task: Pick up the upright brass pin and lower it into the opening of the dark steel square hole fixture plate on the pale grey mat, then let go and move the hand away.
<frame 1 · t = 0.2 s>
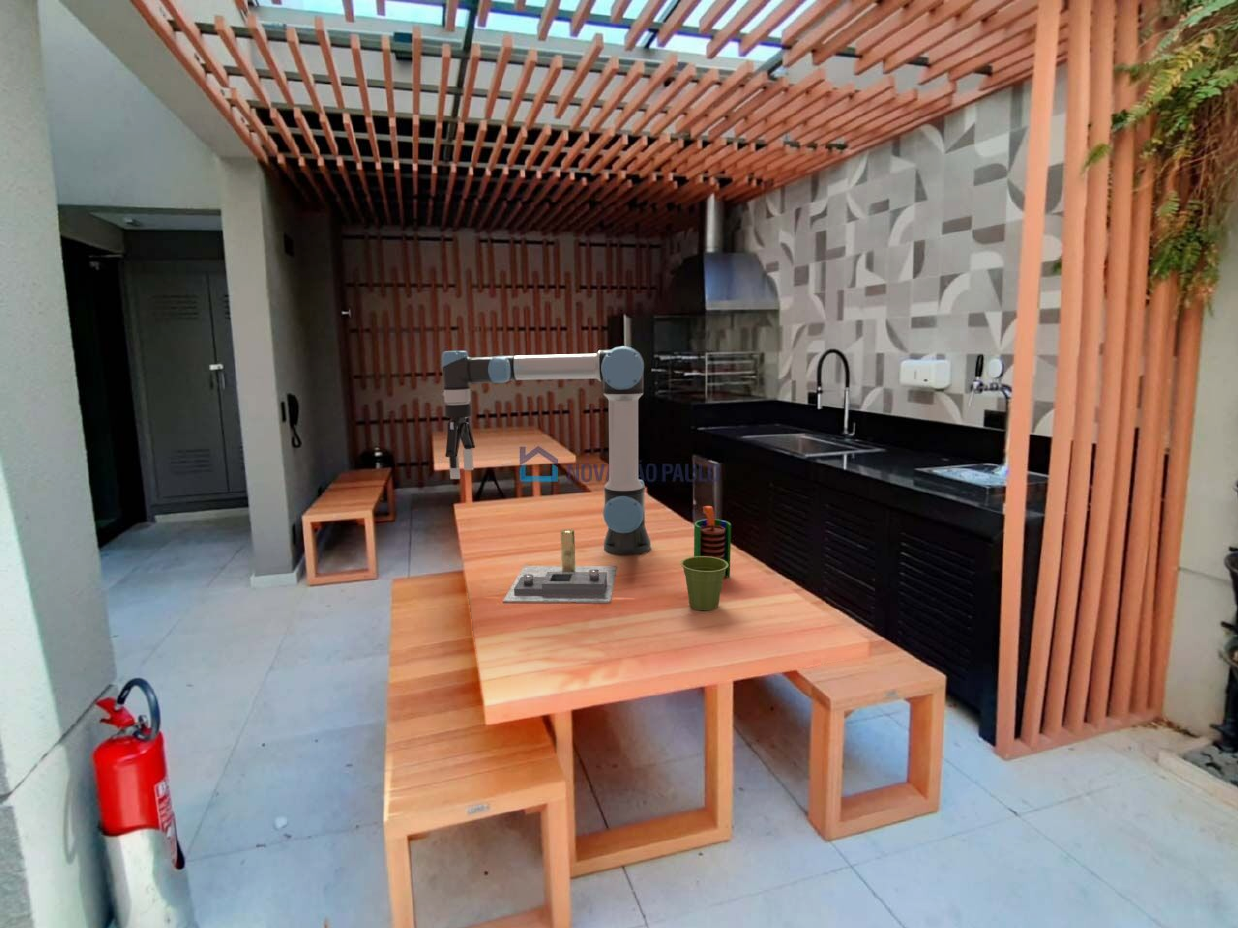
hand: (462, 474, 199), 28 cm above the table, tool pointing down, fingers open, 13 cm apart
square hole fixture plate: (561, 589, 179), on the table
plant pot: (704, 606, 167), on the table
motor: (710, 577, 187), on the table
brass pin: (568, 570, 193), resting on square hole fixture plate
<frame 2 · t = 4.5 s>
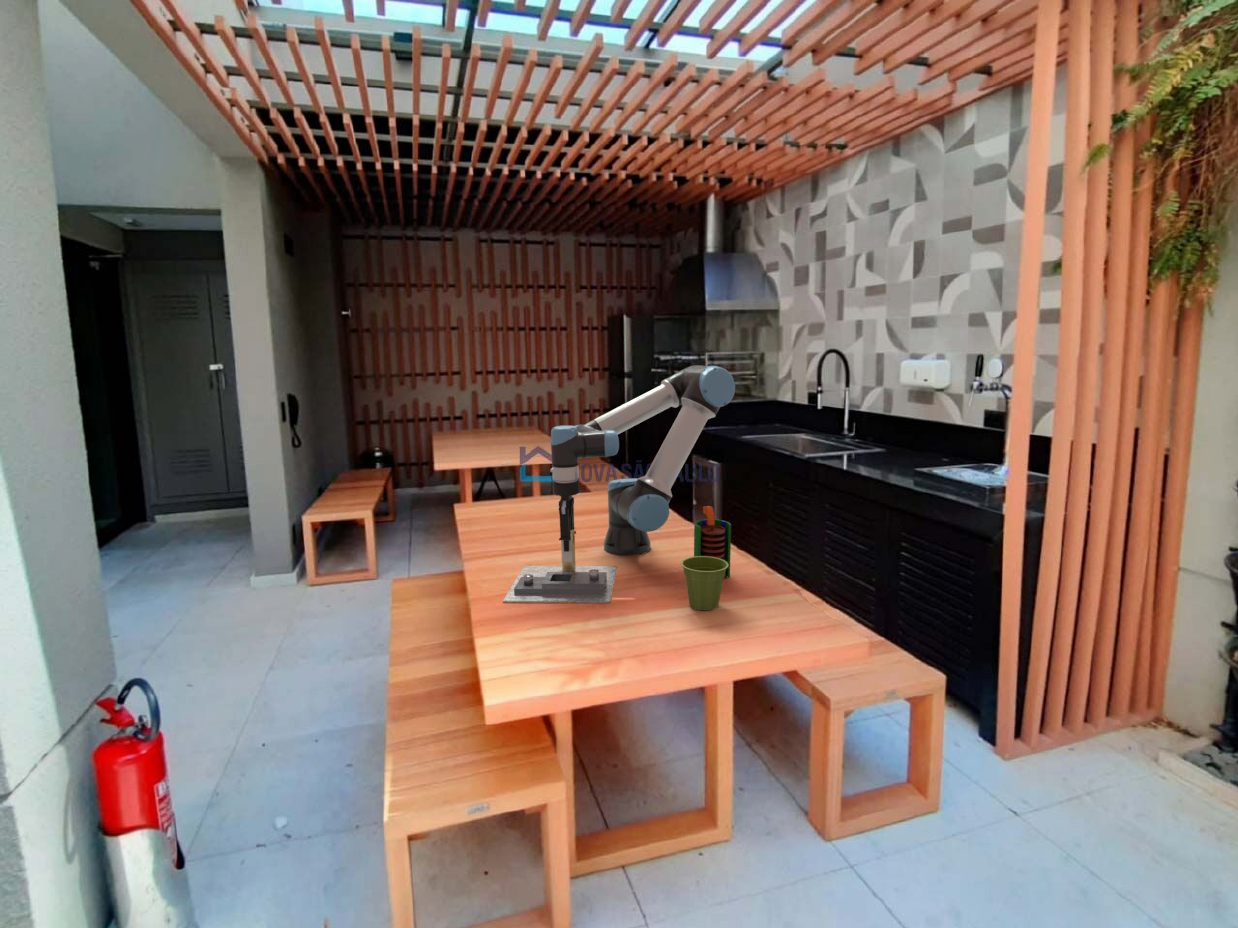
hand: (568, 558, 192), 4 cm above the table, tool pointing down, fingers closed on brass pin, 4 cm apart
brass pin: (568, 570, 193), point 1 cm above the table, touching gripper
everything else where it was.
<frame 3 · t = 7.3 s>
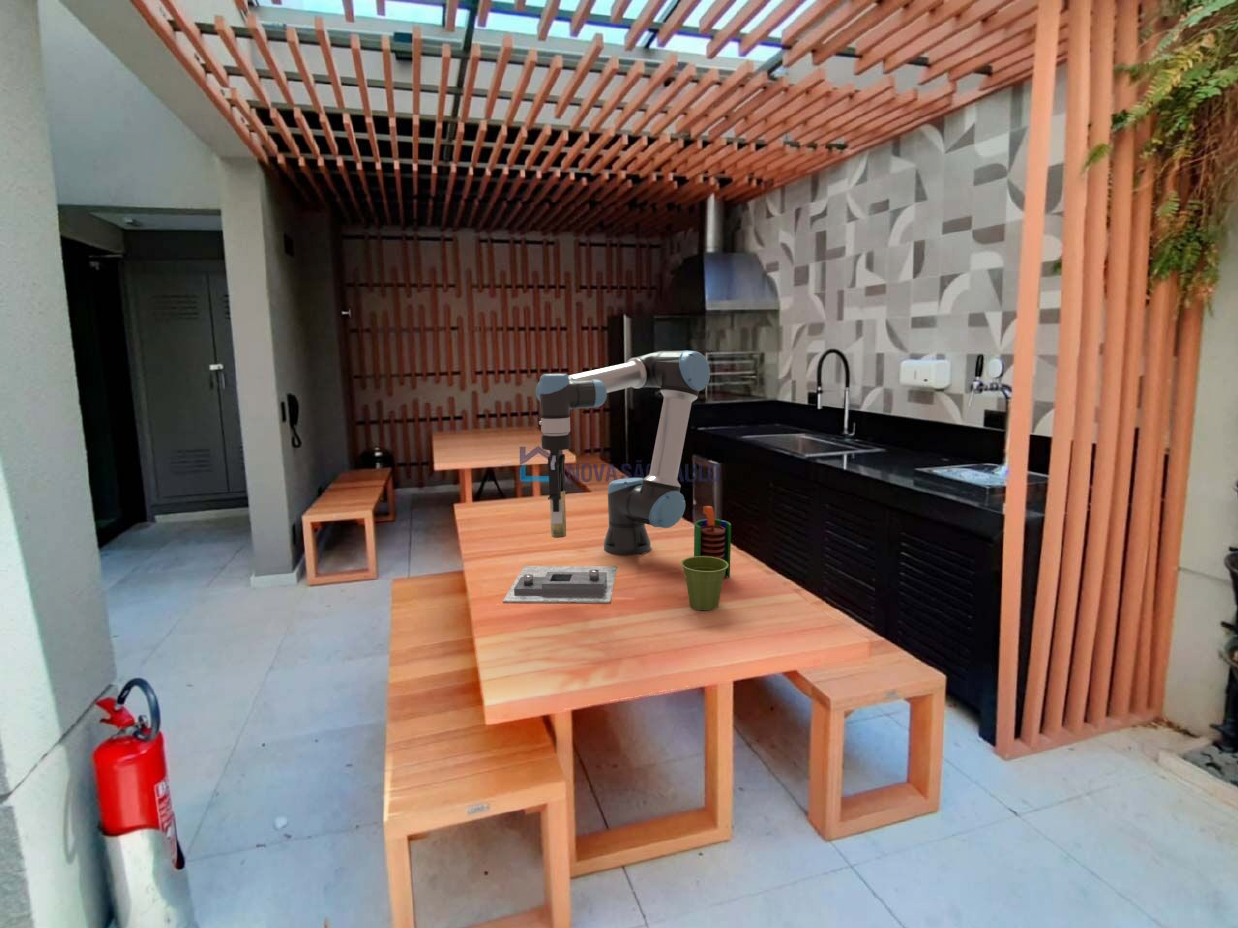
hand: (558, 520, 176), 20 cm above the table, tool pointing down, fingers closed on brass pin, 4 cm apart
brass pin: (558, 535, 176), point 15 cm above the table, touching gripper
everything else where it was.
when the fingers open (5 cm above the table, at t = 10.4 s): brass pin stays where it is, resting on square hole fixture plate.
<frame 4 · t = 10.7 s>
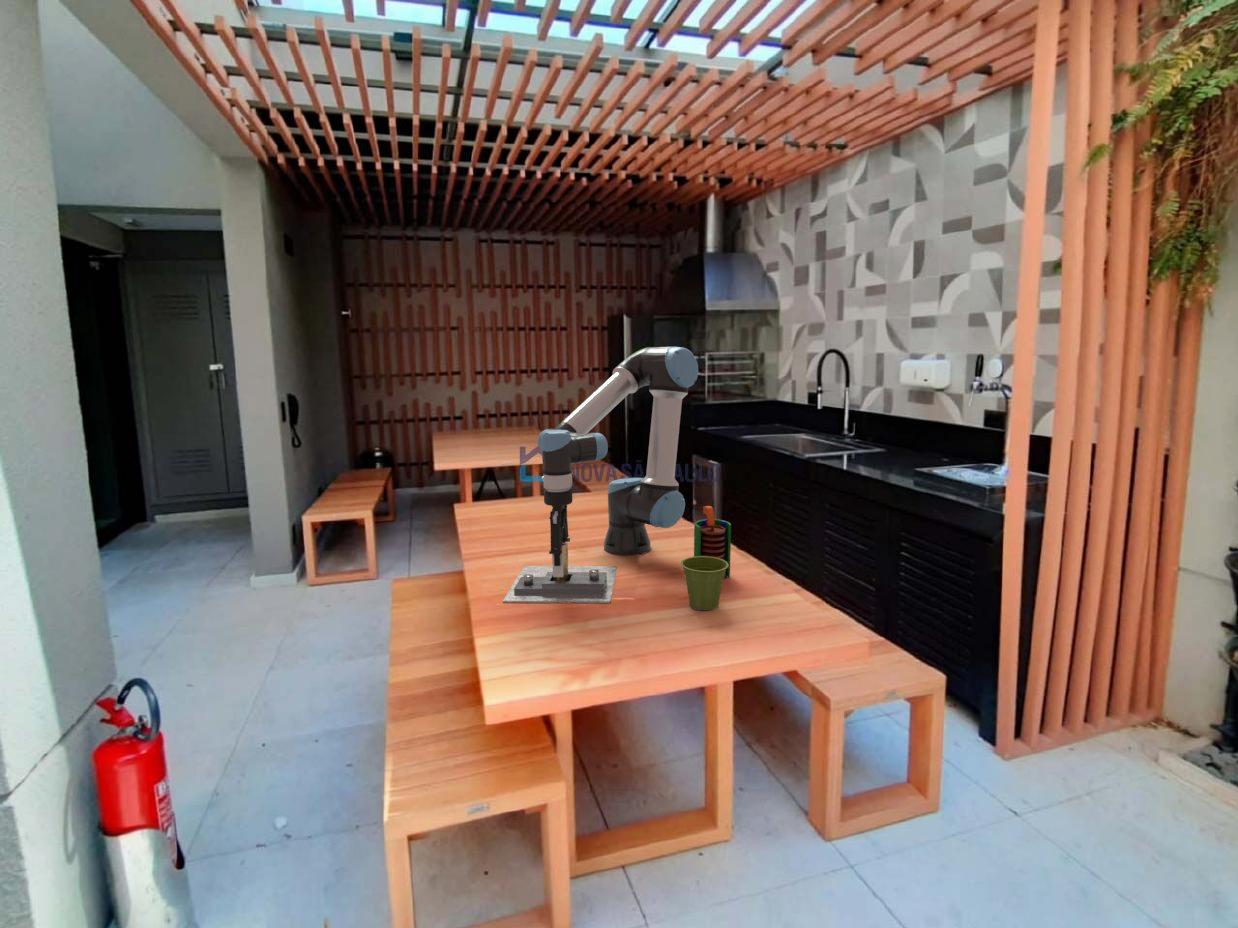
hand: (560, 570, 178), 5 cm above the table, tool pointing down, fingers open, 8 cm apart
brass pin: (561, 588, 179), point 1 cm above the table, touching square hole fixture plate
everything else where it was.
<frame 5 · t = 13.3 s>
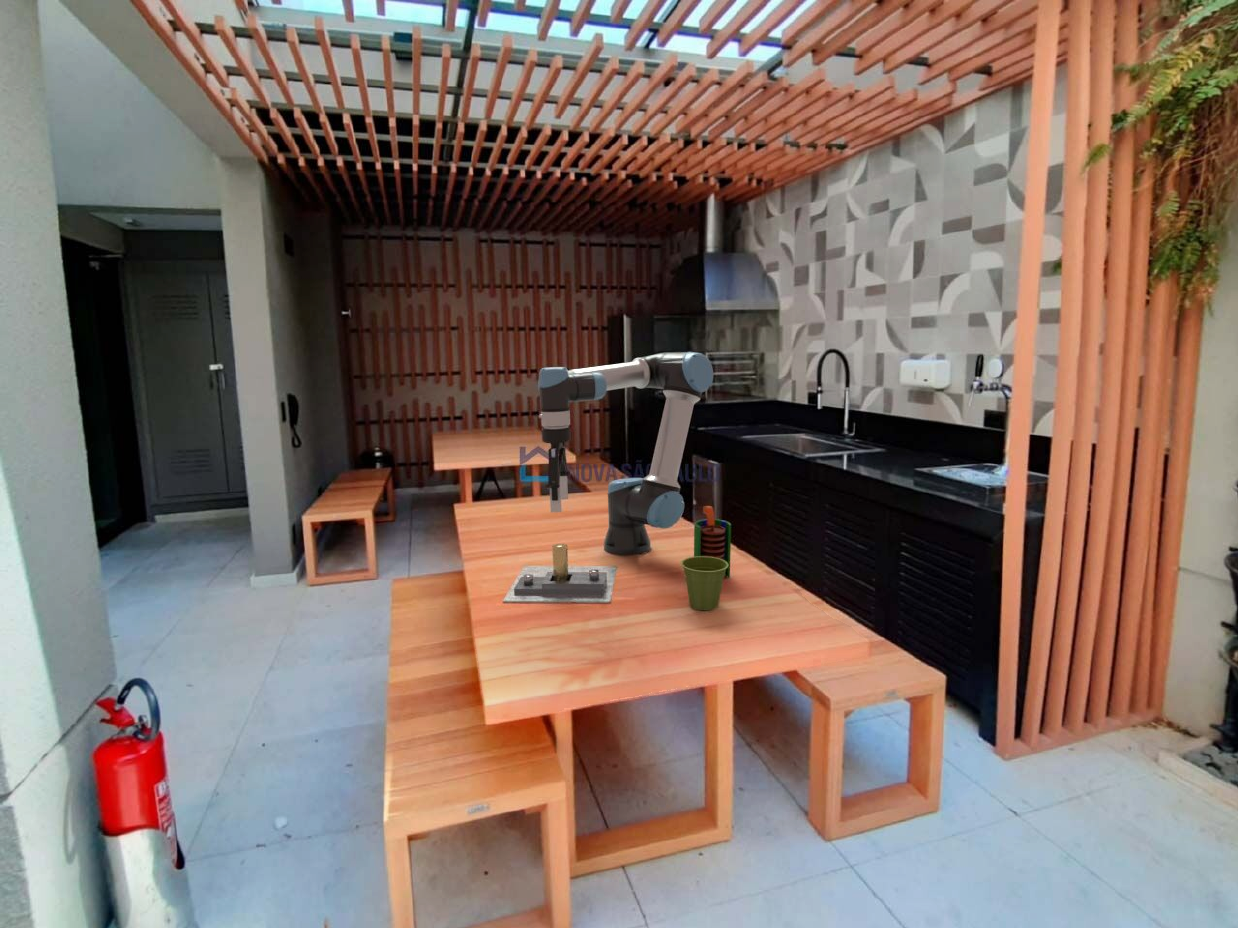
hand: (559, 505, 177), 23 cm above the table, tool pointing down, fingers open, 13 cm apart
nothing on the table moved.
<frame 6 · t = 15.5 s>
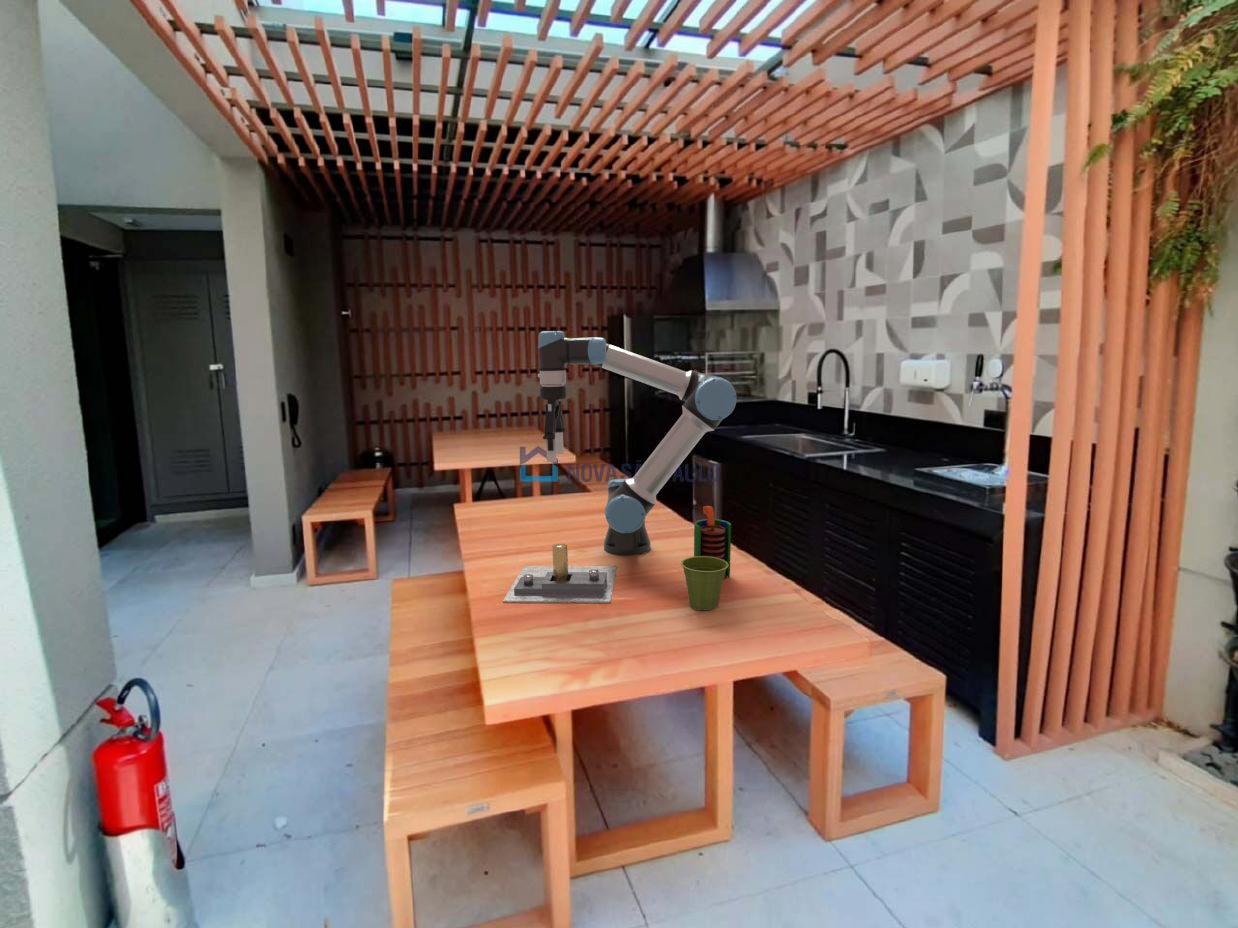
hand: (555, 457, 195), 33 cm above the table, tool pointing down, fingers open, 13 cm apart
nothing on the table moved.
at the end: brass pin 0.1 cm off-centre on the square hole fixture plate, point 0.5 cm above the square hole fixture plate's base; brass pin tilted 0°; the gripper is holding nothing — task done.
